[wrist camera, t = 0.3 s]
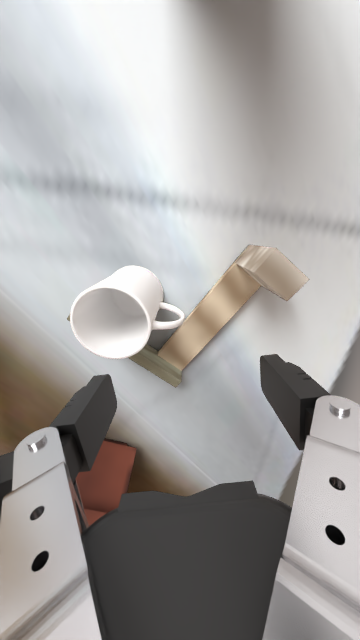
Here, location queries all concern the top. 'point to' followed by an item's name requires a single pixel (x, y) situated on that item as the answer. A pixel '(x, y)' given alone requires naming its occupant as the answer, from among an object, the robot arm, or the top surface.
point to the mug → (120, 313)
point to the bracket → (221, 308)
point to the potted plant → (106, 479)
